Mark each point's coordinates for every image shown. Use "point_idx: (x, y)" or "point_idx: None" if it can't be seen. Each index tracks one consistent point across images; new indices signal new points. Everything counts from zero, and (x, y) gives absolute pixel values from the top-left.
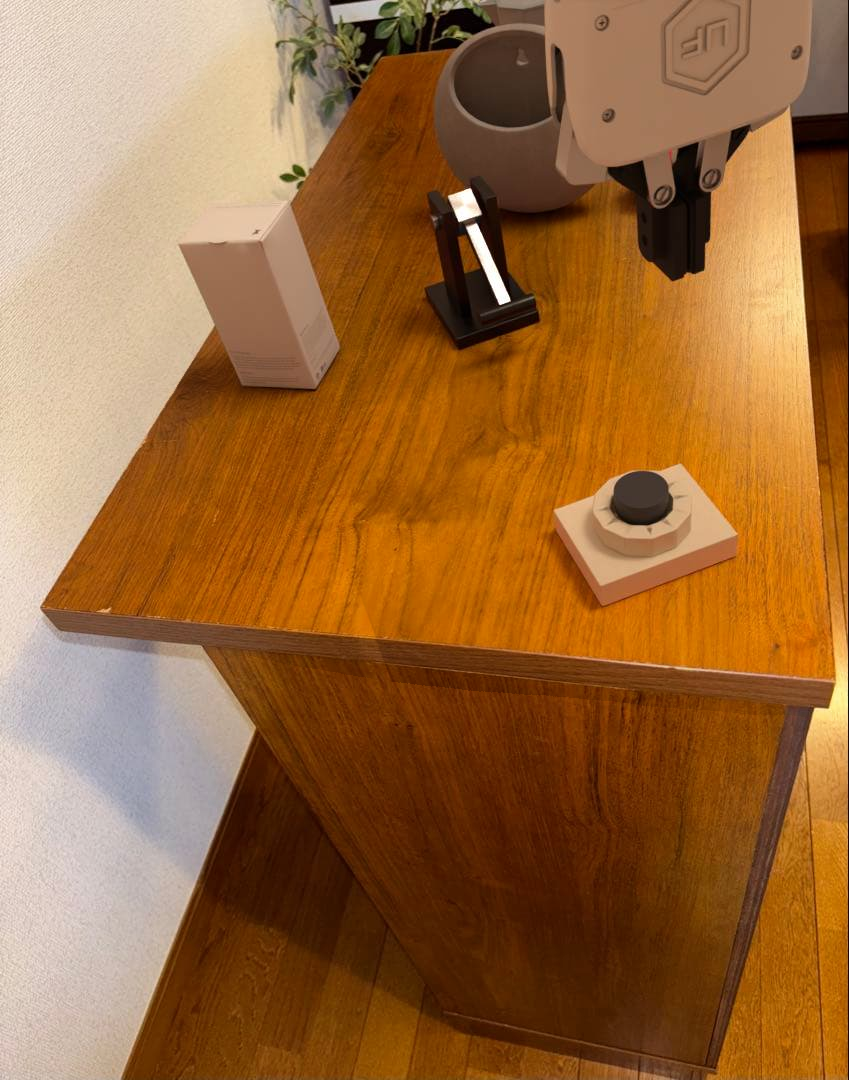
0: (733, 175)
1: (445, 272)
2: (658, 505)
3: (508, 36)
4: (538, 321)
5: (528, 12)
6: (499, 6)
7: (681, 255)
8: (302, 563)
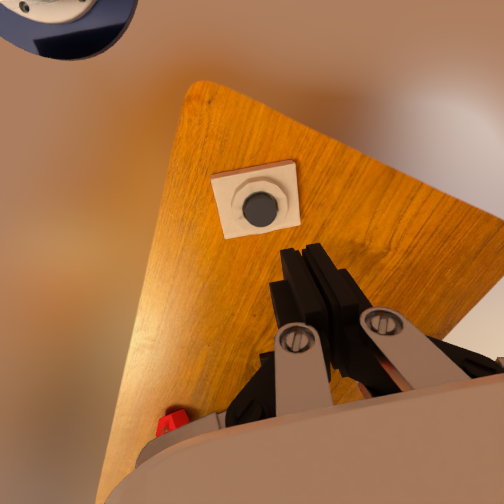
0: (139, 421)
1: None
2: (255, 198)
3: None
4: (260, 354)
5: None
6: None
7: (319, 259)
8: (422, 231)
